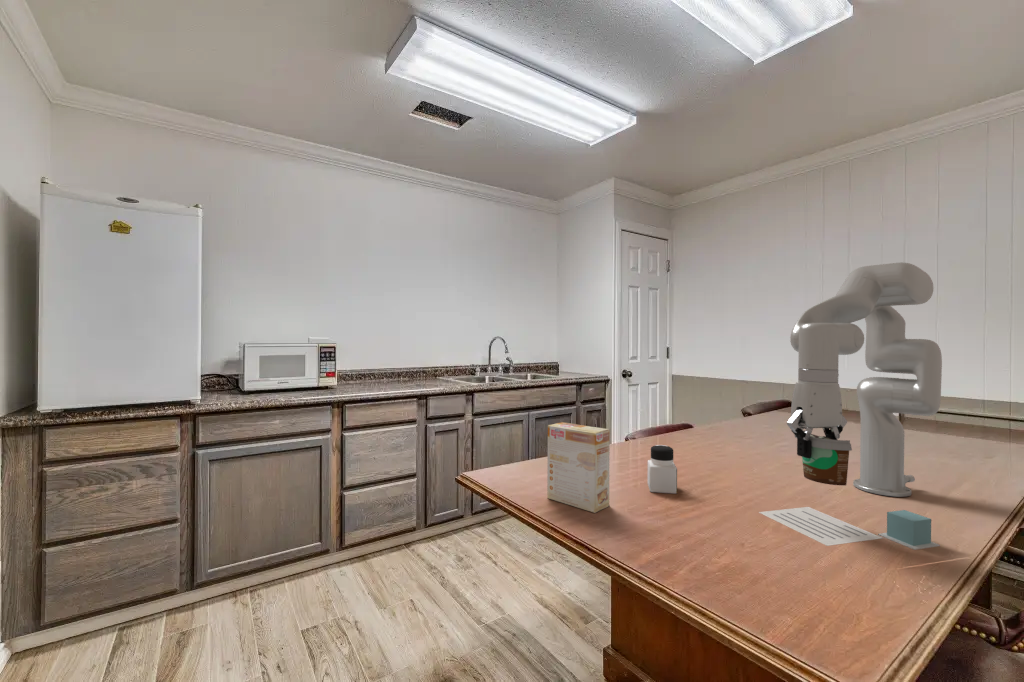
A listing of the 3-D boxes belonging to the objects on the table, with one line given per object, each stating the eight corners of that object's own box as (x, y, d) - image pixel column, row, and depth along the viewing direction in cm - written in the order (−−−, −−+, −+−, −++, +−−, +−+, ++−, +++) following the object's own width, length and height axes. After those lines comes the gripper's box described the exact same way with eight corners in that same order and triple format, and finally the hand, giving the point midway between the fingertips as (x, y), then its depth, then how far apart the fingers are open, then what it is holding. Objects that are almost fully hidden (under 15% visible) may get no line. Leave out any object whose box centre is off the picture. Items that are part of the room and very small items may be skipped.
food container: (785, 471, 107) (784, 430, 107) (809, 470, 108) (809, 429, 108) (825, 488, 95) (824, 441, 95) (852, 487, 96) (851, 440, 96)
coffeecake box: (610, 506, 113) (610, 428, 113) (594, 514, 108) (595, 433, 107) (562, 491, 123) (562, 421, 123) (546, 498, 118) (546, 424, 118)
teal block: (904, 532, 97) (904, 509, 97) (931, 543, 92) (931, 518, 92) (886, 535, 95) (887, 512, 95) (913, 545, 91) (913, 521, 91)
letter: (808, 507, 112) (808, 506, 112) (883, 538, 95) (883, 537, 95) (758, 513, 108) (758, 512, 108) (826, 546, 91) (826, 545, 91)
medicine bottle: (677, 494, 121) (677, 450, 121) (649, 492, 123) (650, 448, 123) (673, 485, 128) (673, 444, 128) (647, 484, 130) (647, 442, 130)
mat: (902, 532, 98) (902, 530, 98) (940, 546, 91) (940, 544, 91) (878, 535, 96) (878, 533, 96) (914, 550, 89) (914, 548, 89)
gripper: (832, 375, 107) (831, 450, 107) (772, 376, 103) (772, 453, 103) (864, 378, 100) (863, 458, 100) (801, 379, 96) (800, 462, 96)
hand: (817, 455), depth 101 cm, fingers closed on food container, 6 cm apart
